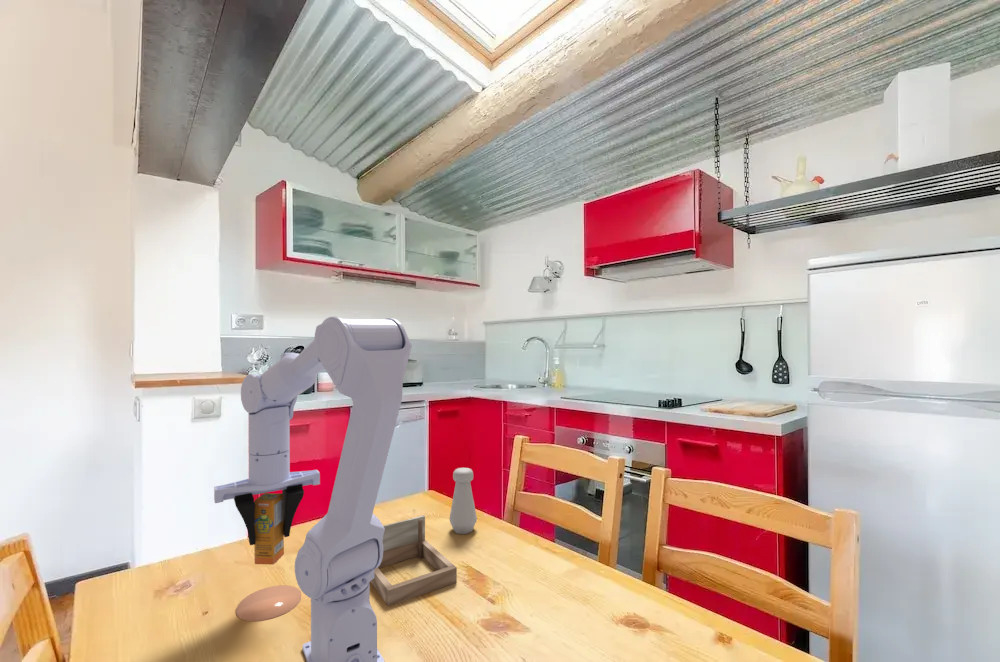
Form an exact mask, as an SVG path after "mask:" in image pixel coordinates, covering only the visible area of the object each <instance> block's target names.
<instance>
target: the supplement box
mask: <svg viewBox="0 0 1000 662" xmlns="http://www.w3.org/2000/svg"><path fill="white" fill-rule="evenodd" d="M254 503H255V519H254V526H255V537H256V542H255V545H253V546H254V547H253V548H254V549H253V550H254V565H269V566H270V565H275V564H276V563H277V562H278V561H279V560H280V559H281V558H282V557H283V556H284V555H285V547H284V546H285V544H284V543H285V540H284V538H285V537H284V535H283V493H282V492H281V493H280V492H279V493H271V492H267V493H262V494H261V495H260V496H259V497H257V498H256V499H254Z"/></svg>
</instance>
